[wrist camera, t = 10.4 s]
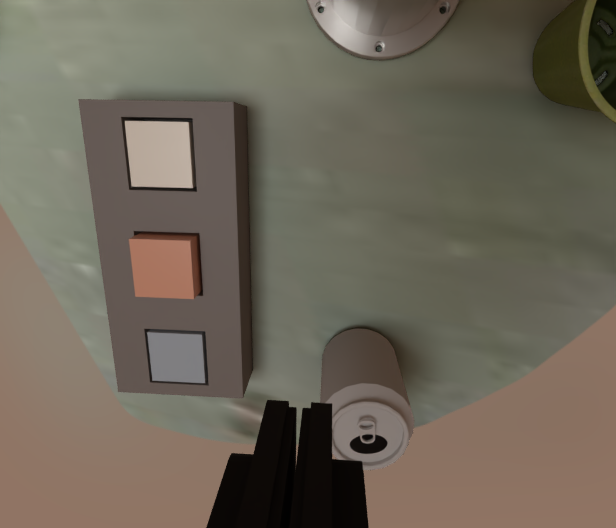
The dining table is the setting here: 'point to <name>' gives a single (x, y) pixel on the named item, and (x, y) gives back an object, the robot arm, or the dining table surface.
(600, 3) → the plant pot
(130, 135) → the cream key
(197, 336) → the slate key
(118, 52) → the dining table surface
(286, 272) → the dining table surface
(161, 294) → the terracotta key
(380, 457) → the can
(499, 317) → the dining table surface
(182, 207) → the key panel
